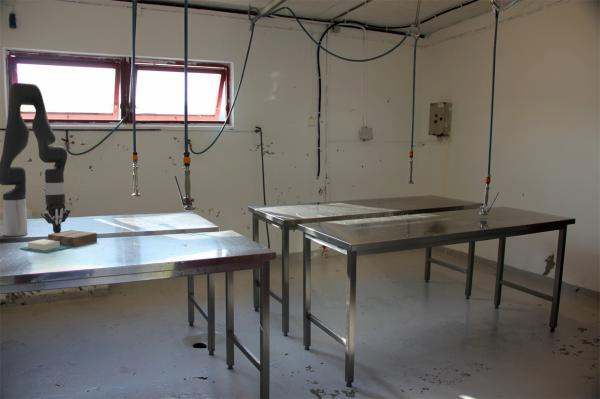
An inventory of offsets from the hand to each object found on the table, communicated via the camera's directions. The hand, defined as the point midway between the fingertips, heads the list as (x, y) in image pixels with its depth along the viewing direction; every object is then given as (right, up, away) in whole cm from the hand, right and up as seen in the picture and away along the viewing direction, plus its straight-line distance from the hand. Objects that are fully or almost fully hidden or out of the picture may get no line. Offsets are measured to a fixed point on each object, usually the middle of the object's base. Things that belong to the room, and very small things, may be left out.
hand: (57, 232), depth 199 cm
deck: (+4, -5, +7) cm, 9 cm away
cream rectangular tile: (-2, -3, -6) cm, 8 cm away
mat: (-2, -6, -5) cm, 8 cm away
